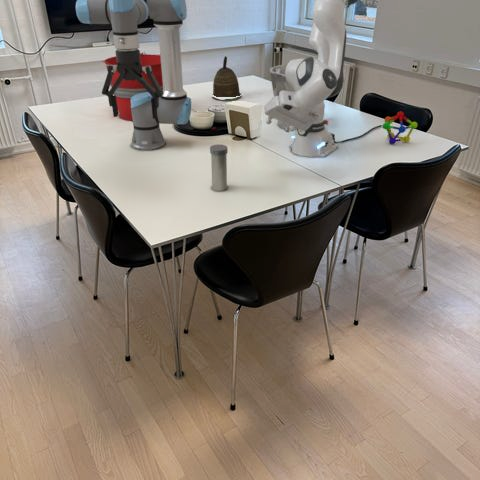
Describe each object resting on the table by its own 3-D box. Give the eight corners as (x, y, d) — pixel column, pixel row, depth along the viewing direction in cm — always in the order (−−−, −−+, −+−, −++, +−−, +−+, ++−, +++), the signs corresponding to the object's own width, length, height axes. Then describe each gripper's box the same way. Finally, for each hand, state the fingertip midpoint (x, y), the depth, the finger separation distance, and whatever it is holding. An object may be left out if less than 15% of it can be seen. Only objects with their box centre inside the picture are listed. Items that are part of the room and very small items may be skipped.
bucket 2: (296, 138, 215) (301, 78, 201) (255, 124, 234) (256, 68, 219) (335, 125, 232) (342, 70, 217) (294, 113, 251) (297, 61, 236)
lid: (219, 156, 156) (219, 151, 155) (206, 152, 160) (206, 147, 159) (231, 151, 160) (231, 147, 159) (218, 147, 164) (217, 143, 163)
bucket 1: (119, 105, 264) (111, 51, 248) (177, 106, 263) (173, 52, 247) (101, 123, 234) (92, 63, 218) (167, 124, 233) (162, 63, 218)
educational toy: (377, 146, 209) (379, 114, 202) (384, 138, 219) (386, 107, 211) (411, 149, 202) (415, 116, 195) (417, 141, 212) (420, 109, 204)
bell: (227, 105, 294) (202, 96, 282) (238, 66, 289) (213, 55, 277) (243, 108, 280) (217, 98, 268) (255, 66, 275) (229, 55, 263)
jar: (220, 192, 164) (219, 152, 156) (209, 188, 167) (207, 149, 159) (229, 187, 168) (229, 148, 160) (218, 183, 171) (218, 144, 163)
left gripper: (84, 50, 136) (95, 118, 148) (163, 52, 134) (168, 121, 145) (93, 46, 143) (104, 112, 154) (169, 48, 140) (174, 114, 152)
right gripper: (319, 108, 169) (296, 129, 179) (277, 88, 158) (255, 111, 168) (321, 121, 166) (297, 141, 176) (279, 102, 155) (256, 124, 166)
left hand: (135, 116), depth 150 cm, fingers open, 13 cm apart
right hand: (276, 126), depth 172 cm, fingers open, 8 cm apart
